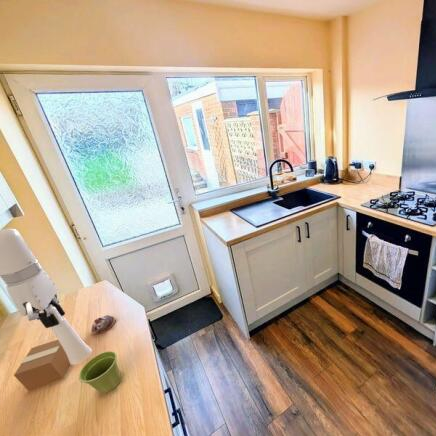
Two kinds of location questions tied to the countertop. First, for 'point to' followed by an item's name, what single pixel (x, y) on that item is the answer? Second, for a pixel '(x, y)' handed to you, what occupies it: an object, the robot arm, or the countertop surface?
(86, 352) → the cosmetic bottle
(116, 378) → the plant pot
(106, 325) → the pastry
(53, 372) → the box
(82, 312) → the countertop surface
